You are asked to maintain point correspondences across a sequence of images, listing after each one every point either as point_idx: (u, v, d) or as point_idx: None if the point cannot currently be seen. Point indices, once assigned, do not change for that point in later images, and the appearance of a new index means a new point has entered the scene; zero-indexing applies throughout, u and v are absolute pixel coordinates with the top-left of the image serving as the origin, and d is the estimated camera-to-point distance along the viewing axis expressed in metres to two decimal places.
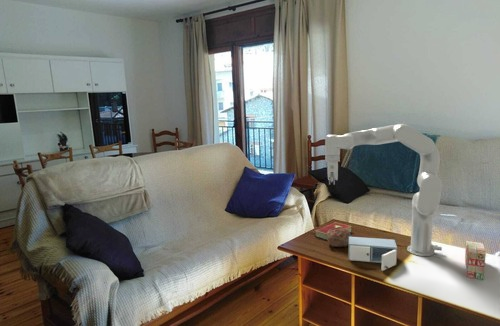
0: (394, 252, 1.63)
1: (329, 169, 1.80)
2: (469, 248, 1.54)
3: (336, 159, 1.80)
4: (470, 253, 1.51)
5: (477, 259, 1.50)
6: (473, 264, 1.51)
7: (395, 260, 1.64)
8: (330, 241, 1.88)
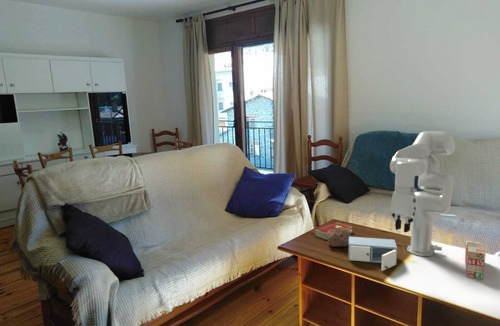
0: (394, 252, 1.63)
1: (412, 204, 1.46)
2: (469, 248, 1.54)
3: None
4: (470, 253, 1.51)
5: (476, 259, 1.50)
6: (473, 264, 1.51)
7: (395, 260, 1.64)
8: (330, 241, 1.88)
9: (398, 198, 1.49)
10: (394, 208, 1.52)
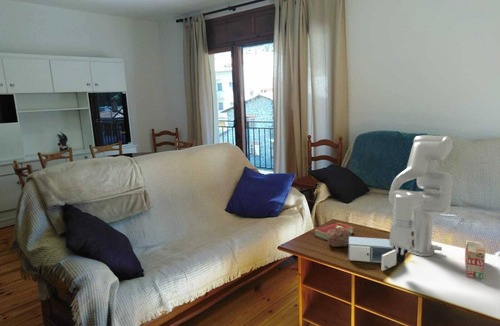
0: (394, 252, 1.63)
1: (410, 237, 1.48)
2: (469, 248, 1.54)
3: None
4: (470, 253, 1.51)
5: (476, 259, 1.50)
6: (473, 263, 1.51)
7: (395, 260, 1.64)
8: (330, 241, 1.88)
9: (396, 230, 1.51)
10: (392, 240, 1.54)
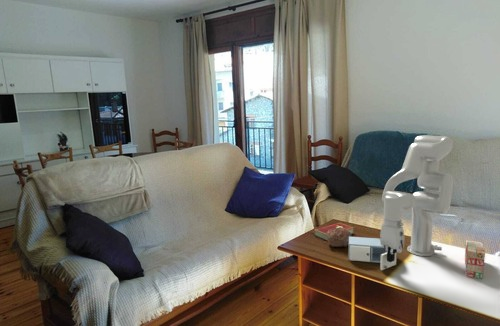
0: None
1: (399, 237, 1.52)
2: (468, 247, 1.54)
3: None
4: (469, 252, 1.51)
5: (476, 258, 1.50)
6: (472, 263, 1.51)
7: (395, 260, 1.64)
8: (330, 241, 1.88)
9: (386, 230, 1.56)
10: (383, 239, 1.58)
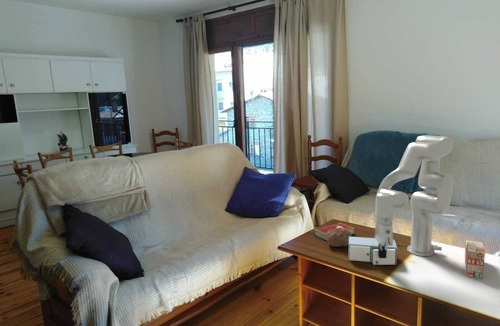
0: (392, 251, 1.64)
1: (384, 234, 1.56)
2: (468, 247, 1.54)
3: (391, 222, 1.57)
4: (469, 252, 1.51)
5: (476, 258, 1.50)
6: (472, 263, 1.51)
7: (394, 260, 1.65)
8: (330, 241, 1.88)
9: (377, 226, 1.61)
10: (375, 235, 1.64)
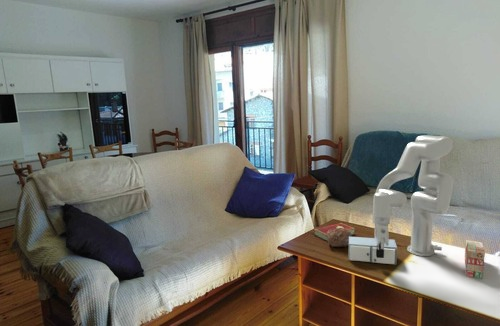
0: (391, 251, 1.65)
1: (379, 233, 1.56)
2: (468, 247, 1.55)
3: (387, 222, 1.56)
4: (469, 252, 1.51)
5: (476, 258, 1.50)
6: (472, 263, 1.52)
7: (393, 259, 1.65)
8: (330, 241, 1.88)
9: (375, 226, 1.62)
10: (374, 234, 1.64)
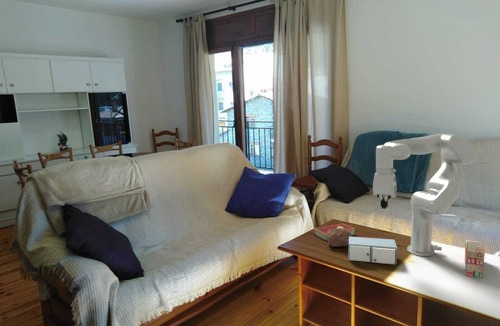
0: (391, 251, 1.65)
1: (393, 183, 1.62)
2: (468, 247, 1.55)
3: None
4: (469, 252, 1.52)
5: (476, 258, 1.51)
6: (472, 263, 1.52)
7: (393, 259, 1.65)
8: (330, 241, 1.88)
9: (380, 179, 1.65)
10: (376, 189, 1.67)
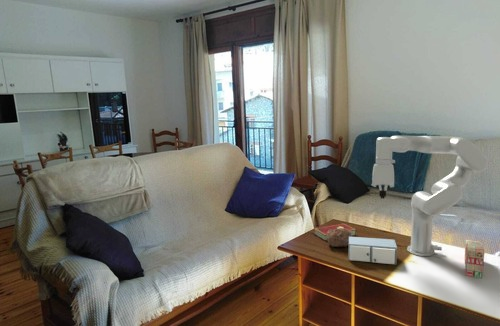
0: (391, 251, 1.65)
1: (393, 173, 1.71)
2: (468, 247, 1.55)
3: None
4: (469, 252, 1.52)
5: (476, 258, 1.51)
6: (472, 263, 1.52)
7: (393, 259, 1.65)
8: (330, 241, 1.88)
9: (381, 170, 1.71)
10: (377, 179, 1.73)
